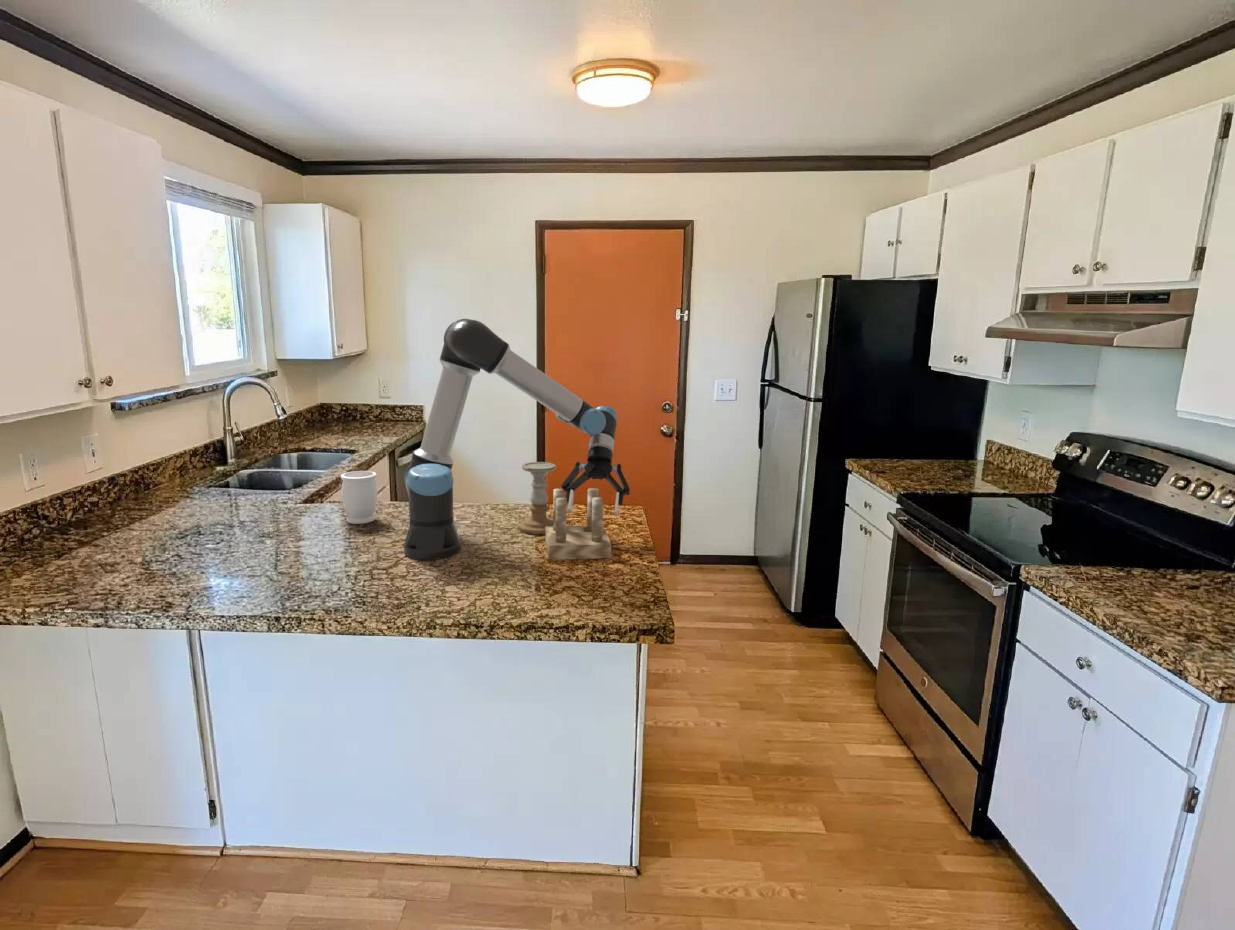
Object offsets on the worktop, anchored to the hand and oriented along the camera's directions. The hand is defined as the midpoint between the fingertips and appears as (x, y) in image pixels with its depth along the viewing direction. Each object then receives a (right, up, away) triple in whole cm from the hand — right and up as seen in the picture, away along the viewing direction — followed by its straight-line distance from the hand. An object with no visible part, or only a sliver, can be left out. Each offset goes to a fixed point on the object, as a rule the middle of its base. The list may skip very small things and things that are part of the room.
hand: (592, 512), depth 191 cm
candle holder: (-17, -6, +15) cm, 23 cm away
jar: (-73, -4, +17) cm, 76 cm away
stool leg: (0, -9, +3) cm, 10 cm away
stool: (-4, -10, -2) cm, 11 cm away
